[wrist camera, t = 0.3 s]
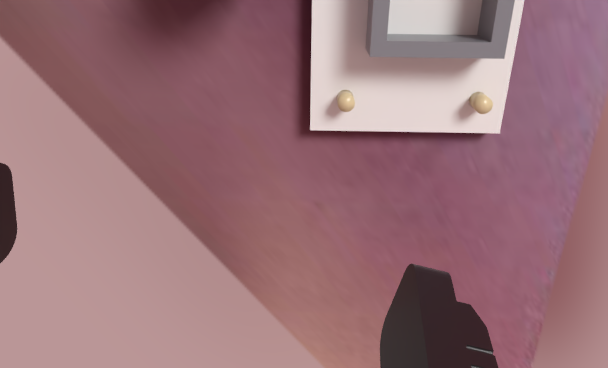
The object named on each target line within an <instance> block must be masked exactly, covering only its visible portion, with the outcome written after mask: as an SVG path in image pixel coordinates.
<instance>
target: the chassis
mask: <svg viewBox="0 0 608 368" xmlns="http://www.w3.org/2000/svg"><path fill="white" fill-rule="evenodd" d="M523 5H524V0H312V33H311V99H310V130H323V131H384V132H446V133H500V128H501V123H502V117H503V112H504V107H505V101H506V96H507V91H508V85H509V80H510V75H511V69H512V64H513V59H514V53H515V48H516V43H517V37H518V32H519V27H520V21H521V16H522V10H523Z"/></svg>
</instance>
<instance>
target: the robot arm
mask: <svg viewBox="0 0 608 368" xmlns="http://www.w3.org/2000/svg"><path fill="white" fill-rule="evenodd" d="M16 234H17V221H16V211H15V201H14V192H13V181H12V174H11V171H10V169H9V167H8V166H7V165H5V164H2V163H0V263H1V262H2V261H3V260H4V259H5V258H6V257H7V255H8V254H9V252H10V251H11V249H12V247H13V245H14V242H15V239H16ZM380 364H381V368H498V365H497V362H496V358H495V356H494V355H493V348H492V344H491V341H490V337H489V334H488V330H487V327H486V326H485V324H484V323H483V321H482V320H481V319H480V317H479V316H478V315H477V313H476V312H475V310H474V309H473V308H472V306H471V305H470V304H466V303H461V302H457V301H456V297H455V293H454V288H453V284H452V280H451V276H450V274H449V273H448V272H444V271H440V270H436V269H432V268H427V267H423V266H419V265H415V264H410V265H409V266H408V267H407V269H406V271H405V273H404V275H403V278H402V280H401V282H400V285H399V287H398V289H397V292H396V294H395V297H394V299H393V301H392V304H391V306H390V308H389V311H388V313H387V315H386V318H385V321H384V324H383V328H382V333H381V341H380Z"/></svg>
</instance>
